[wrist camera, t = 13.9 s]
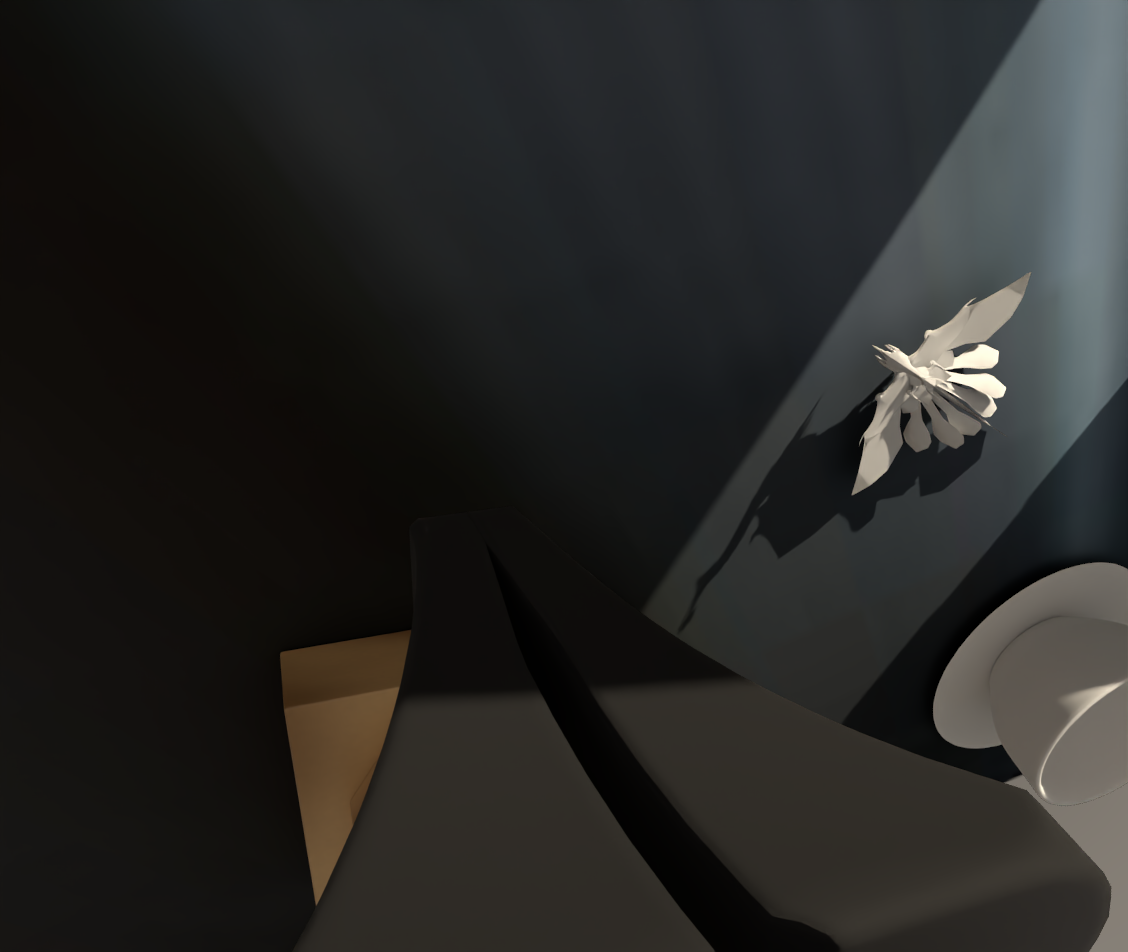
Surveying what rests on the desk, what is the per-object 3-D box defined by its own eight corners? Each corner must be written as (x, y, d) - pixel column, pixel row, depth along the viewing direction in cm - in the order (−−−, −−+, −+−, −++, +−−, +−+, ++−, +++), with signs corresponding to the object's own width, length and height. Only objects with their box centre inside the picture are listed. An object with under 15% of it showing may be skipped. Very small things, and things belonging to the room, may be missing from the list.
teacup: (891, 673, 34) (974, 768, 30) (1104, 510, 32) (1219, 587, 29) (968, 770, 39) (1046, 859, 36) (1151, 635, 38) (1252, 712, 35)
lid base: (315, 873, 29) (325, 990, 26) (279, 651, 24) (287, 764, 21) (594, 805, 32) (634, 903, 29) (617, 594, 27) (669, 685, 24)
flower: (1060, 317, 28) (1137, 355, 26) (900, 510, 30) (959, 558, 28) (959, 214, 23) (1044, 252, 21) (778, 453, 26) (839, 507, 24)
